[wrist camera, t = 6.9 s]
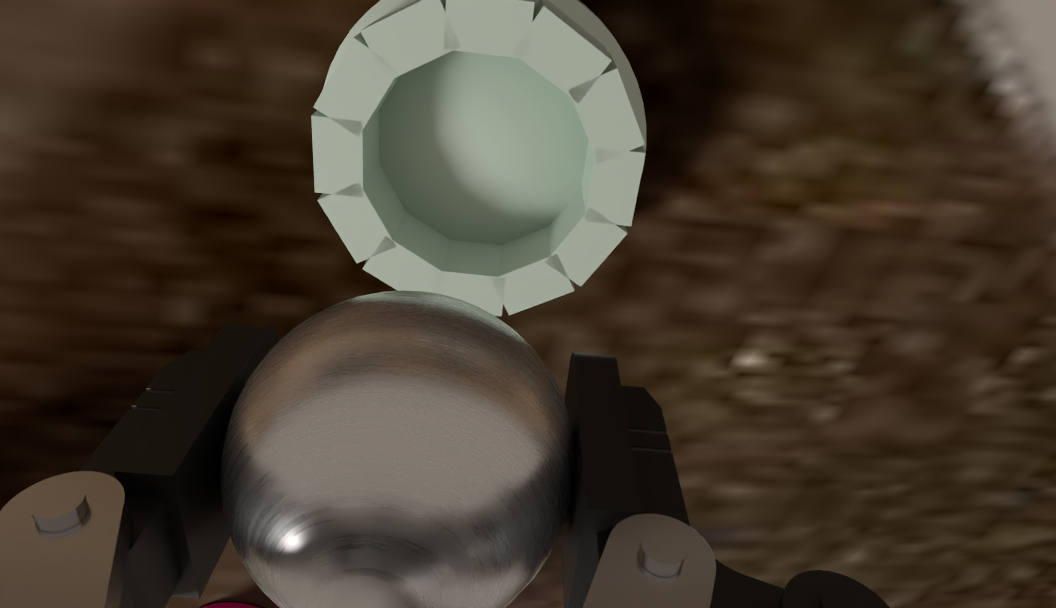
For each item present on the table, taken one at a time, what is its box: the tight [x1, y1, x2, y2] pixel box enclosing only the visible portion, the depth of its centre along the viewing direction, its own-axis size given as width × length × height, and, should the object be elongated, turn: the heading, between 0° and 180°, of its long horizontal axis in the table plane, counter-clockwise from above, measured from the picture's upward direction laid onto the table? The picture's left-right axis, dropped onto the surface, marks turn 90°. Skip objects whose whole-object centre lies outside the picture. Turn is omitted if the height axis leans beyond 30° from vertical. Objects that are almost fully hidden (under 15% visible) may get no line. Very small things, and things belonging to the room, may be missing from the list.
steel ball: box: [220, 290, 574, 608], centre depth 10 cm, size 5×5×5 cm
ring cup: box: [311, 0, 646, 316], centre depth 23 cm, size 11×11×4 cm
